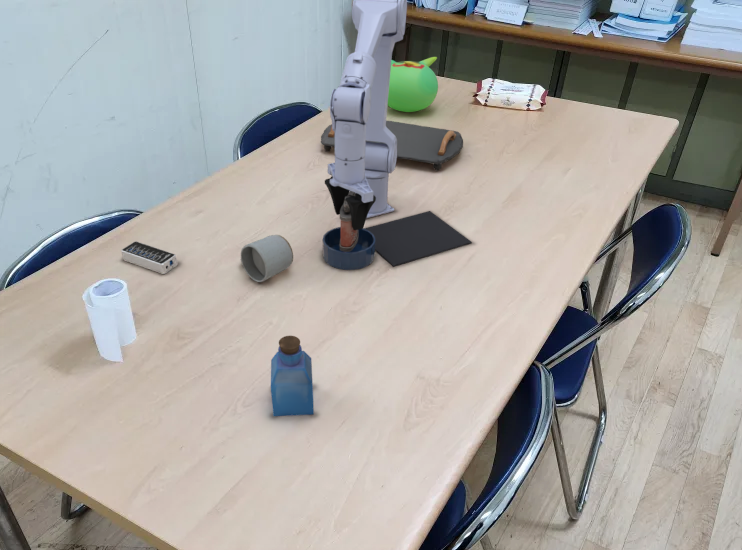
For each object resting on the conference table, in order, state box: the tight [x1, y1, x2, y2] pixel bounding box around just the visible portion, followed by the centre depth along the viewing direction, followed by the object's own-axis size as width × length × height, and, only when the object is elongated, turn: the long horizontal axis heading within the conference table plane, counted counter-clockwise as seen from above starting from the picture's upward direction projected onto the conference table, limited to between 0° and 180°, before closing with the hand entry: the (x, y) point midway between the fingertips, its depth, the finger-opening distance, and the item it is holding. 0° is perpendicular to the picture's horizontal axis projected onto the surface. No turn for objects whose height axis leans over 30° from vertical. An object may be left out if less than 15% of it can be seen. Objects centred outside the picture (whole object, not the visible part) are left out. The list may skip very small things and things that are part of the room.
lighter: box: [339, 191, 358, 252], centre depth 129 cm, size 8×3×10 cm, turn 168°
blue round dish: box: [321, 226, 376, 271], centre depth 133 cm, size 11×11×4 cm
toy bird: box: [387, 56, 439, 113], centre depth 194 cm, size 18×17×15 cm
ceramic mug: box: [240, 234, 294, 283], centre depth 127 cm, size 11×8×8 cm
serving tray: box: [320, 120, 464, 172], centre depth 175 cm, size 39×23×6 cm, turn 69°
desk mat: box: [364, 210, 473, 268], centre depth 140 cm, size 16×20×1 cm
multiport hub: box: [120, 240, 178, 275], centre depth 130 cm, size 4×11×2 cm, turn 62°
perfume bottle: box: [270, 335, 315, 417], centre depth 97 cm, size 6×6×12 cm
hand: (349, 220), depth 129 cm, fingers closed on lighter, 6 cm apart
